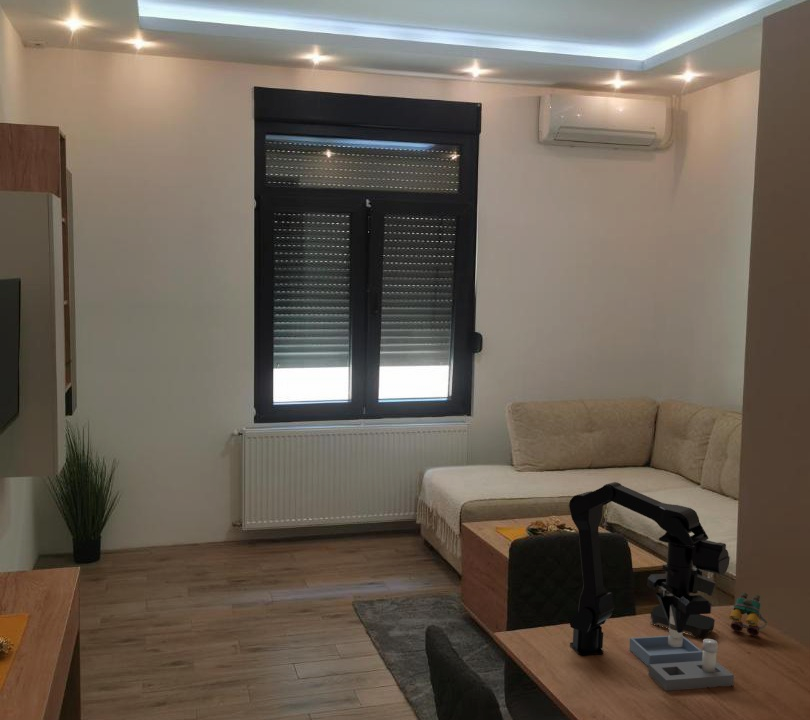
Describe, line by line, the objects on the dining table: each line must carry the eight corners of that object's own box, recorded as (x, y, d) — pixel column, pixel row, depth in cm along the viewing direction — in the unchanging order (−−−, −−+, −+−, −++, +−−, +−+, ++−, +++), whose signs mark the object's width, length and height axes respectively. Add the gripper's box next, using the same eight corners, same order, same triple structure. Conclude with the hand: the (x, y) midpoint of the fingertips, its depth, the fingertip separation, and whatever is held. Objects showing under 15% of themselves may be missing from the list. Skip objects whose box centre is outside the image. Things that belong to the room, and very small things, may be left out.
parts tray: (648, 667, 203) (649, 655, 203) (629, 649, 213) (629, 637, 213) (702, 663, 206) (703, 651, 206) (680, 646, 216) (681, 634, 216)
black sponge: (717, 632, 226) (717, 619, 226) (704, 641, 220) (705, 628, 220) (659, 615, 237) (659, 602, 237) (645, 624, 231) (646, 611, 230)
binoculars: (727, 635, 229) (723, 611, 224) (735, 608, 235) (732, 584, 230) (763, 644, 224) (761, 620, 219) (771, 617, 230) (769, 592, 225)
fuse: (705, 682, 197) (707, 644, 196) (698, 676, 200) (700, 639, 199) (717, 681, 197) (720, 644, 196) (710, 675, 200) (712, 638, 200)
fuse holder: (665, 690, 192) (666, 680, 192) (648, 674, 200) (649, 664, 199) (733, 685, 195) (733, 675, 195) (713, 669, 203) (714, 659, 203)
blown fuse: (672, 647, 194) (674, 609, 193) (665, 641, 197) (667, 604, 196) (685, 646, 195) (687, 608, 194) (677, 640, 198) (680, 603, 197)
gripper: (735, 576, 187) (730, 644, 188) (690, 549, 205) (686, 612, 206) (689, 578, 184) (684, 647, 186) (647, 551, 202) (644, 614, 204)
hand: (675, 629), depth 195 cm, fingers closed on blown fuse, 3 cm apart
